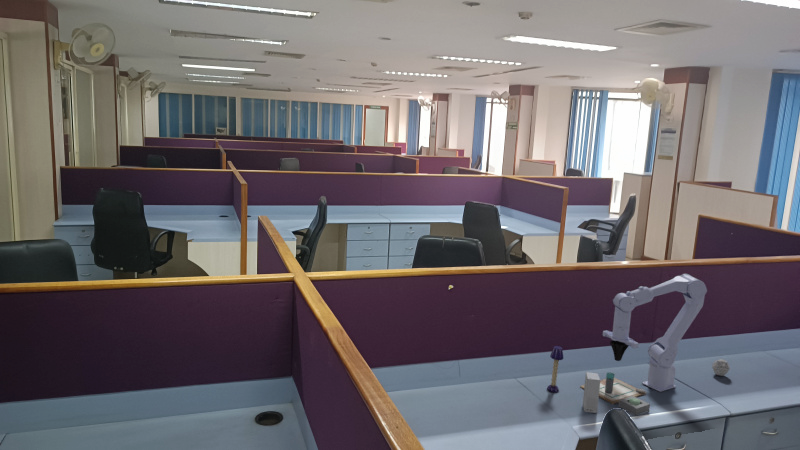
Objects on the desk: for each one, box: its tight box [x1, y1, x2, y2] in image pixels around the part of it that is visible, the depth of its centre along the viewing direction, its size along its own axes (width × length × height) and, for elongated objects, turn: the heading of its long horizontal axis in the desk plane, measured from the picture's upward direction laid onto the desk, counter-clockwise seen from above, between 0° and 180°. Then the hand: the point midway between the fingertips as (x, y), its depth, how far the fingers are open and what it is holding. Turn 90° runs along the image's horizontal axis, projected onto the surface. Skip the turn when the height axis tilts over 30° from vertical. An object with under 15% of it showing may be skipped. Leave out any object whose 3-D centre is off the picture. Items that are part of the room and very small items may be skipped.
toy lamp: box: [546, 345, 564, 394], centre depth 208 cm, size 5×5×17 cm
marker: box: [605, 372, 615, 394], centre depth 208 cm, size 3×3×7 cm
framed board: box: [579, 377, 647, 405], centre depth 211 cm, size 18×15×1 cm
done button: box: [629, 398, 641, 406], centre depth 197 cm, size 3×3×3 cm
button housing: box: [618, 396, 651, 416], centre depth 197 cm, size 7×7×2 cm
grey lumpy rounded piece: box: [711, 358, 730, 377], centre depth 227 cm, size 6×7×7 cm
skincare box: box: [582, 371, 601, 414], centre depth 196 cm, size 6×4×12 cm
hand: (617, 360), depth 215 cm, fingers closed
